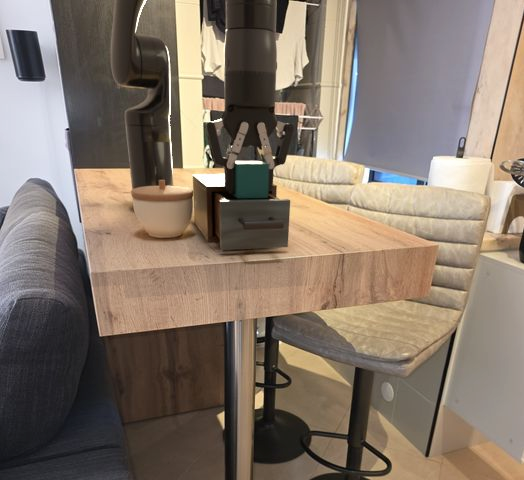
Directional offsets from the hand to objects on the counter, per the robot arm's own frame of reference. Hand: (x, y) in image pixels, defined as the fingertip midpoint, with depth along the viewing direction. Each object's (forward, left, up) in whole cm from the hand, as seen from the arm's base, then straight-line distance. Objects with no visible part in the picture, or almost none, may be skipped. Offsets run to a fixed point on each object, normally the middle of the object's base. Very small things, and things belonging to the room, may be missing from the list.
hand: (248, 192), depth 73 cm
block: (0, 0, 0) cm, 0 cm away
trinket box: (-11, -13, -9) cm, 19 cm away
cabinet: (-12, 0, -9) cm, 15 cm away
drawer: (0, 0, -8) cm, 8 cm away
